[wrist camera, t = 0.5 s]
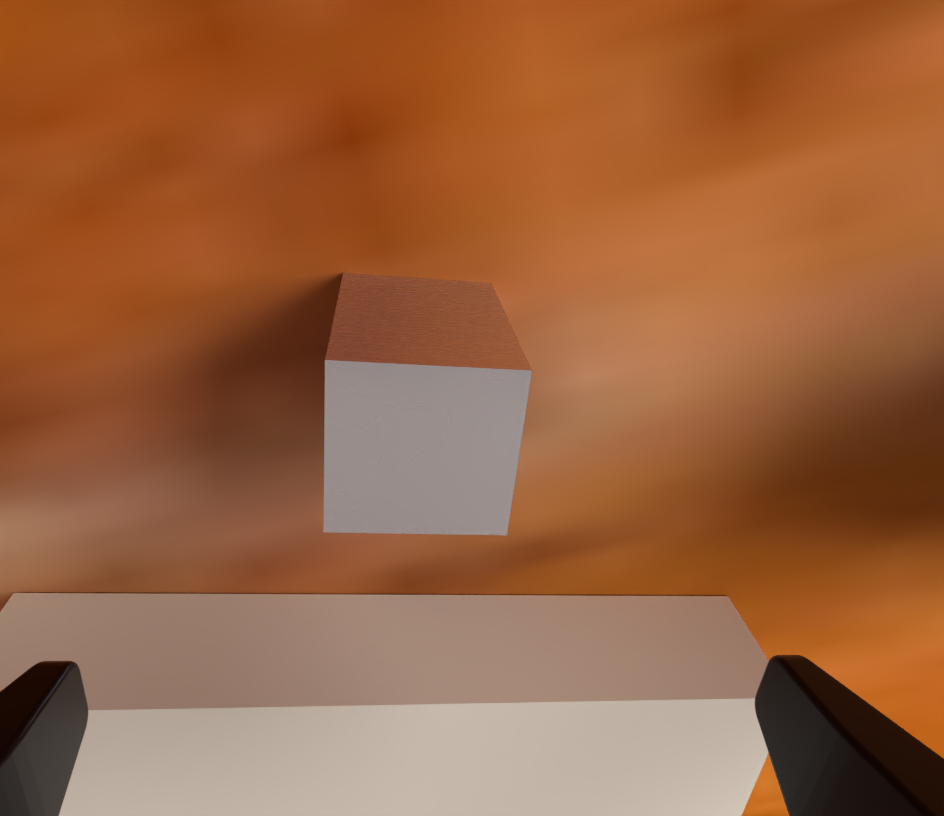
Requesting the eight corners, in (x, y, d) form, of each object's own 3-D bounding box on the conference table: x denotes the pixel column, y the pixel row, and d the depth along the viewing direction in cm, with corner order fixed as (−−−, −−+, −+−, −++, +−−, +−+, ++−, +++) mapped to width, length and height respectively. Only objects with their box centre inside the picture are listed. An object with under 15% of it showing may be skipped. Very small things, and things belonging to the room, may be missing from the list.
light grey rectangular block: (490, 282, 19) (531, 370, 14) (476, 412, 21) (507, 535, 15) (343, 272, 18) (325, 359, 13) (340, 406, 20) (323, 532, 15)
